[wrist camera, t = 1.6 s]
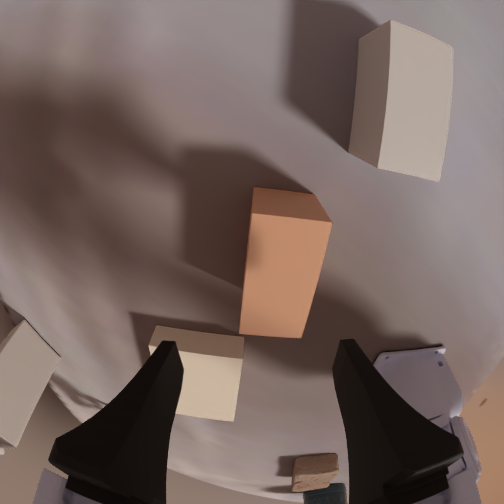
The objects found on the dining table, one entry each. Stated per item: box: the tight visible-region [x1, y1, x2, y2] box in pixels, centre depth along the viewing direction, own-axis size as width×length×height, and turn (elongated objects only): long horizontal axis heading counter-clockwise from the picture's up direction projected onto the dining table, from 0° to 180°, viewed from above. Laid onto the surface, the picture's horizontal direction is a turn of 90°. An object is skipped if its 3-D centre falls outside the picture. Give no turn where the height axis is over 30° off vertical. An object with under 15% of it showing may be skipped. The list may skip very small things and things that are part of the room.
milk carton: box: [0, 319, 61, 455], centre depth 19 cm, size 7×7×19 cm
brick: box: [291, 453, 339, 492], centre depth 42 cm, size 17×8×5 cm, turn 5°
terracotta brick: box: [239, 187, 332, 338], centre depth 18 cm, size 4×8×5 cm, turn 174°
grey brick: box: [348, 20, 453, 182], centre depth 12 cm, size 4×8×5 cm, turn 176°
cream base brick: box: [148, 325, 244, 421], centre depth 26 cm, size 8×12×3 cm, turn 174°
